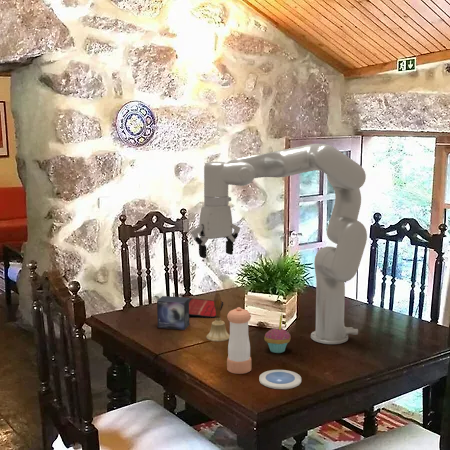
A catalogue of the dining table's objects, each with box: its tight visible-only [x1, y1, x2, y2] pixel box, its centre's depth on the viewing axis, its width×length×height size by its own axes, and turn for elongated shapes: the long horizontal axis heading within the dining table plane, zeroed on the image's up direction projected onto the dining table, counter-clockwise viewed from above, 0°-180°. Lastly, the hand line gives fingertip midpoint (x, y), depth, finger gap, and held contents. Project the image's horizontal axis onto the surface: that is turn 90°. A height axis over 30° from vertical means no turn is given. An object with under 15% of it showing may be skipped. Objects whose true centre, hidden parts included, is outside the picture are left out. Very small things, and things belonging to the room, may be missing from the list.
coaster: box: [258, 369, 302, 390], centre depth 182 cm, size 12×12×1 cm
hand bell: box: [205, 291, 230, 342], centre depth 217 cm, size 8×8×16 cm
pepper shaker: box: [226, 306, 252, 375], centre depth 189 cm, size 7×7×19 cm
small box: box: [156, 295, 191, 331], centre depth 229 cm, size 11×6×10 cm, turn 76°
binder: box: [188, 297, 224, 319], centre depth 250 cm, size 16×2×21 cm
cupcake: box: [263, 313, 292, 354], centre depth 205 cm, size 9×8×12 cm
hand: (216, 255), depth 200 cm, fingers open, 9 cm apart
